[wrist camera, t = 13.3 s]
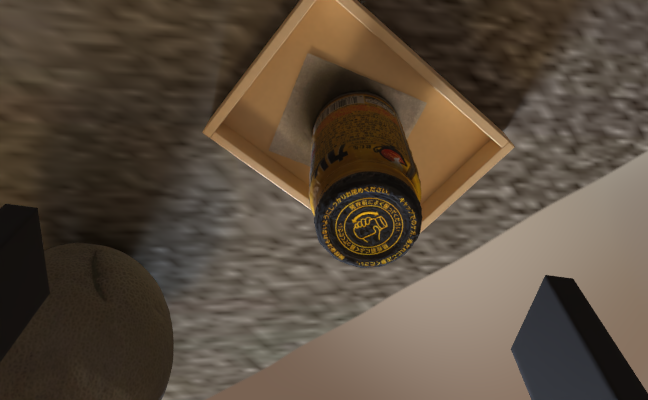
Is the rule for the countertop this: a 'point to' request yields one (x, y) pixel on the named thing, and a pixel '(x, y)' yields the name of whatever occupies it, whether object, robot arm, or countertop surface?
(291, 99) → the condiment
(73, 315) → the grey round rock
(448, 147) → the tray
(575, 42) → the countertop surface
